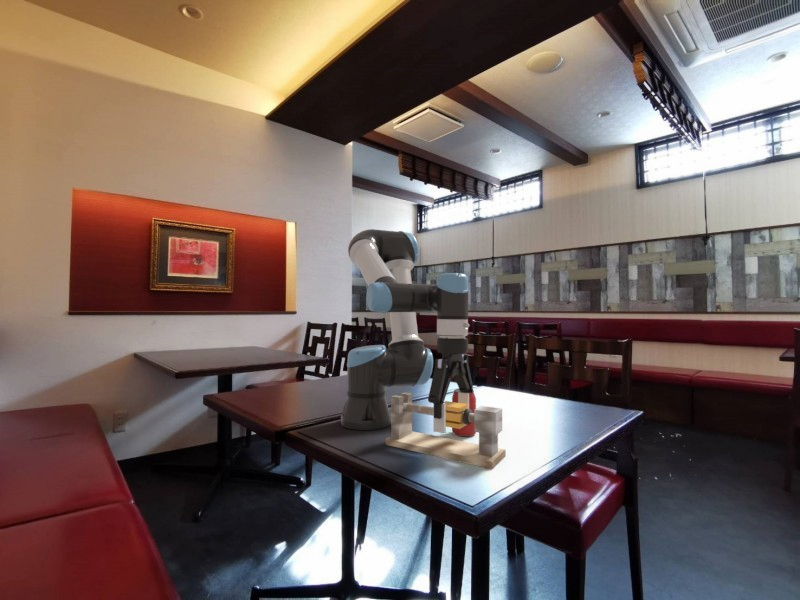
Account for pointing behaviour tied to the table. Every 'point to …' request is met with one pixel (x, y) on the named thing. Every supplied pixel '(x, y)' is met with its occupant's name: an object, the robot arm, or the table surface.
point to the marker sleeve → (455, 414)
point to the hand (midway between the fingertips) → (452, 425)
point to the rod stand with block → (476, 454)
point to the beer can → (470, 429)
